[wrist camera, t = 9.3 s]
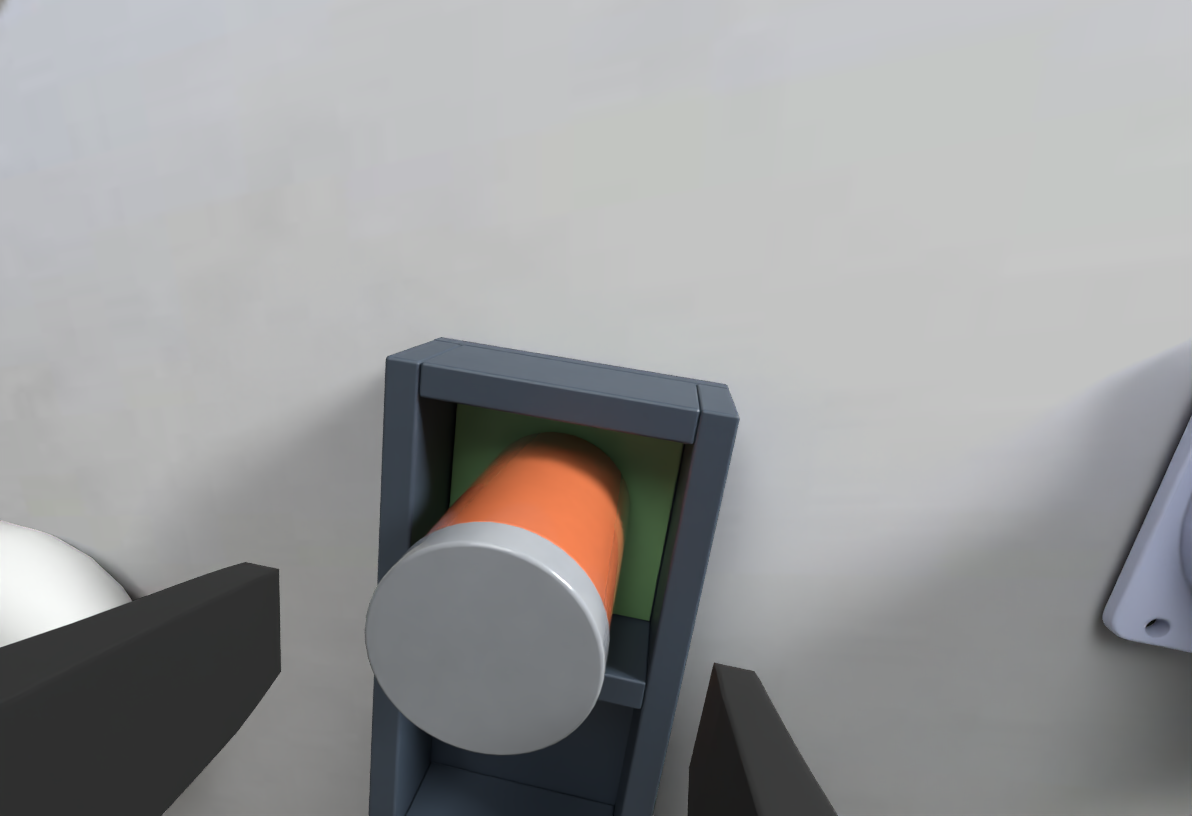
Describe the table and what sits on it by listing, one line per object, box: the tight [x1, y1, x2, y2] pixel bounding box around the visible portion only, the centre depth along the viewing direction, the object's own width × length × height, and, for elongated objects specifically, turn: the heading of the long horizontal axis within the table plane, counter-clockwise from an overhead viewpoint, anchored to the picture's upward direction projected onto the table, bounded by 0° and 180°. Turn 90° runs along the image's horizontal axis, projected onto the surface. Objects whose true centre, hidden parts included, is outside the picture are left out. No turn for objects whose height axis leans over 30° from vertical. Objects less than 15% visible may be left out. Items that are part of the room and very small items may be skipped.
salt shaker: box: [365, 432, 631, 756], centre depth 12 cm, size 4×4×6 cm
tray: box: [369, 337, 740, 816], centre depth 16 cm, size 8×21×3 cm, turn 172°
